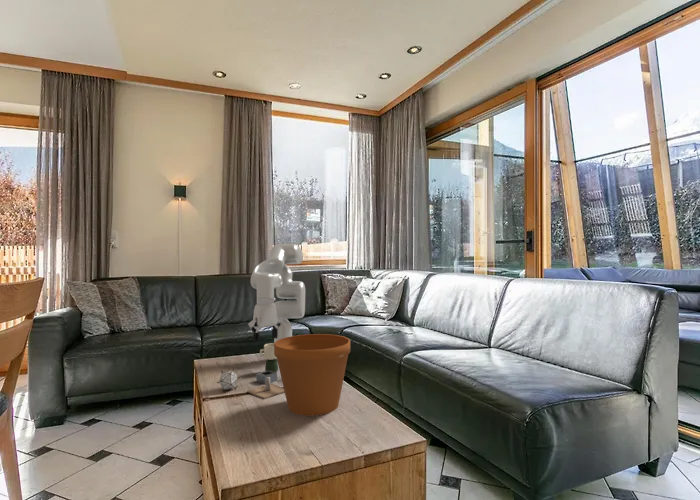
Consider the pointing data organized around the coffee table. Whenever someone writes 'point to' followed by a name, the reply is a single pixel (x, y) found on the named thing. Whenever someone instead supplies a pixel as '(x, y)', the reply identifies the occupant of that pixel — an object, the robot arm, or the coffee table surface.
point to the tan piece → (267, 390)
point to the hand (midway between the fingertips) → (265, 339)
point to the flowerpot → (312, 371)
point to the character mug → (269, 357)
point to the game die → (228, 380)
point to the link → (262, 375)
